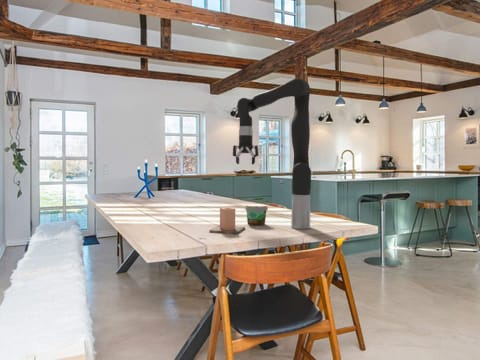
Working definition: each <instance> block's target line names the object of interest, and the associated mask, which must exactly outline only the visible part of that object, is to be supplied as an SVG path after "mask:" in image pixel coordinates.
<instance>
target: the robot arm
mask: <svg viewBox="0 0 480 360" xmlns="http://www.w3.org/2000/svg"><path fill="white" fill-rule="evenodd" d="M310 91H311V87H310V84H309V82H308V81H306V80H304V79H302V78H299V77H295V78H293V79H291V80H289V81H287V82H285V83H284V84H281V85H279V86H277V87H275V88H272V89H269V90H267V91H264V92H260V93H257V94H255V95H254V96H253V98H247V97H241V98H239V99H238V101H237V105H236V107H237V108H236V109H237V113H238V118H239V126H238V127H239V129H238V145H233V147H232V157H235V163H236V165H240V156H241V155H242V154H250V156H251V165H255V164H256V158H257V157H259V155H260V154H259V145H257V144H256V145H253V138H254V136H253V135H254V131H253V118H252V116H251V115H250V113H251V112H254V111H256V110H258V109H260V108H263V107H265V106H270V105H272V104H273V103H275V102H277V101H278V100H281V99H285V98H289V97H291V98H292V97H294V112H293V113H294V114H293V117H292V120H291V124H290V125H291V127H290V133H291V134H290V135H291V143H292V144H291V145H292V150H293V163H292V164H293V165H292V170H291V171H292V174H291V176H292V177H291V179H292V180H291V181H292V182H291V183H292V184H291V224H290V225H291V228H292V229H296V230H309V229H310V228H311V187H312V186H311V185H312V170H311V167H310V162H309V161H310V160H309V148H310V141H311V140H310V138H311V134H310V129H311V128H310V112H309V111H310V109H309V107H310V94H311V92H310ZM253 149H254V152H253V151H252V150H253ZM237 150H238V152H237Z"/></svg>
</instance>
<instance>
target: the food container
mask: <svg viewBox="0 0 480 360" xmlns="http://www.w3.org/2000/svg"><path fill="white" fill-rule="evenodd" d="M267 206H268V205H266V206H249V205H245V208H244V209H245V210H246V220H247V225H249V226H254V227H255V226H256V227H257V226H264V225H265V224H266V218H267V217H266V216H267V211H268V210H269V209H268V207H267Z"/></svg>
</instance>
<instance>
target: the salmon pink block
mask: <svg viewBox="0 0 480 360" xmlns="http://www.w3.org/2000/svg"><path fill="white" fill-rule="evenodd" d="M219 225H220V228H221V229H223V230H231V229H235V226H236V208H235V207H234V208H233V207H231V206H229V207H227V206H226V207H219Z"/></svg>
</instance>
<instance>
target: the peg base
mask: <svg viewBox="0 0 480 360" xmlns="http://www.w3.org/2000/svg"><path fill="white" fill-rule="evenodd" d="M245 230H246V227H245V226H236V225H235V229H231V230H223V229H221V228H220V224H219V225H217V226H214V227H212V228H211V229H209V231H208V232H209V233H213V234H226V235H227V234H229V235H239V234H240V233H242V232H243V231H245Z"/></svg>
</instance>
